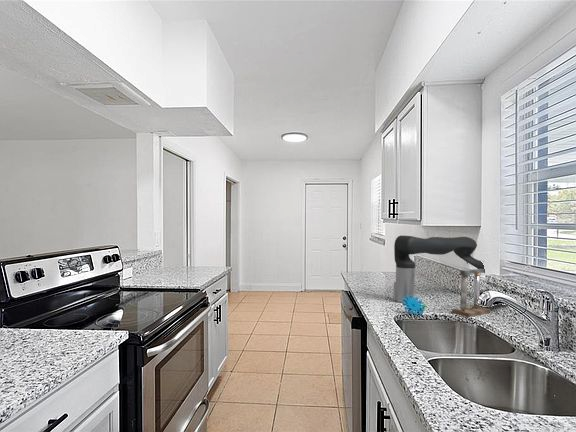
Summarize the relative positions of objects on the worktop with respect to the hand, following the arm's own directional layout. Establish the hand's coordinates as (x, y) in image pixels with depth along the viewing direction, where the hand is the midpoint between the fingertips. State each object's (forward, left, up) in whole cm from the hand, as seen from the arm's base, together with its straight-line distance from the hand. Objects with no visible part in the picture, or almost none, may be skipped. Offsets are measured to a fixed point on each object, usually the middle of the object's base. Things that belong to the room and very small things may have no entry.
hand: (478, 295), depth 172 cm
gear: (-19, -26, -8) cm, 33 cm away
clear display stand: (-1, -5, -8) cm, 9 cm away
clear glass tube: (0, -1, -6) cm, 6 cm away
